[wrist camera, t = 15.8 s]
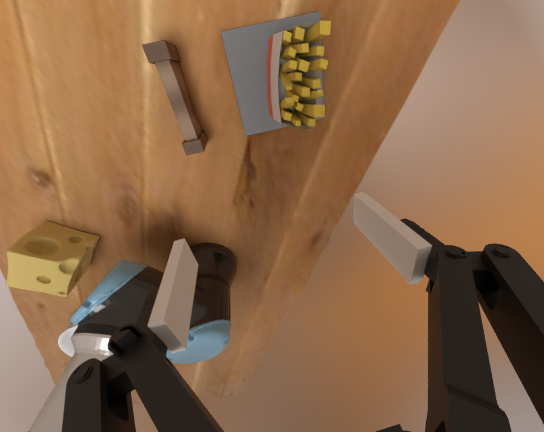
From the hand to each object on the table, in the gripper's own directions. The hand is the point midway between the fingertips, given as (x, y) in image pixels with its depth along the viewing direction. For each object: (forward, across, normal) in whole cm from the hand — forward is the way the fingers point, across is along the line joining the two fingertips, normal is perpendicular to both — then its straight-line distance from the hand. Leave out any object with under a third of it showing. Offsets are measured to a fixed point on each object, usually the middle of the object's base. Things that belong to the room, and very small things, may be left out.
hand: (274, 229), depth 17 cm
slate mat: (+32, -9, -9) cm, 34 cm away
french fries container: (+31, -8, -9) cm, 34 cm away
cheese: (+34, +45, +14) cm, 58 cm away
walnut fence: (+32, +8, -9) cm, 34 cm away
